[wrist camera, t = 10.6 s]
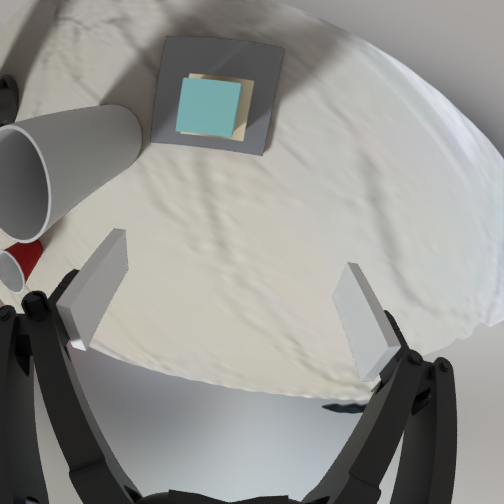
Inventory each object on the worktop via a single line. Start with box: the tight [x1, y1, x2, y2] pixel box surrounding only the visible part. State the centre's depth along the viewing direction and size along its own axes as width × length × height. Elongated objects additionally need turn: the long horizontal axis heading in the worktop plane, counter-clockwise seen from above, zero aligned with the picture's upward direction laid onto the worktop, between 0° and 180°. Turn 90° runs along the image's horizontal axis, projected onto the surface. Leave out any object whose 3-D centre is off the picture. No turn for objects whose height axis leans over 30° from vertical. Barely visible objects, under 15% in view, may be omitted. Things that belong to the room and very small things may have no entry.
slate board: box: [150, 36, 285, 156], centre depth 35 cm, size 18×18×2 cm
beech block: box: [180, 73, 254, 141], centre depth 28 cm, size 7×7×6 cm
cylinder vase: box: [0, 104, 142, 243], centre depth 28 cm, size 12×12×25 cm
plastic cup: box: [0, 239, 43, 294], centre depth 44 cm, size 11×11×12 cm
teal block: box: [176, 78, 242, 138], centre depth 23 cm, size 5×5×6 cm
